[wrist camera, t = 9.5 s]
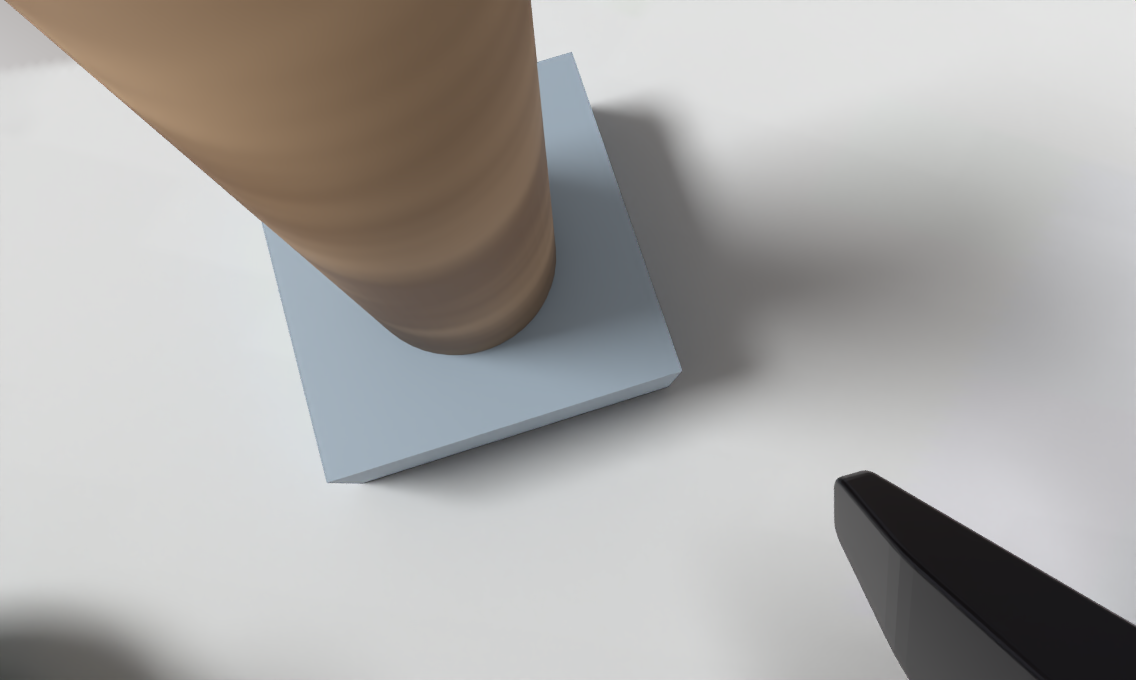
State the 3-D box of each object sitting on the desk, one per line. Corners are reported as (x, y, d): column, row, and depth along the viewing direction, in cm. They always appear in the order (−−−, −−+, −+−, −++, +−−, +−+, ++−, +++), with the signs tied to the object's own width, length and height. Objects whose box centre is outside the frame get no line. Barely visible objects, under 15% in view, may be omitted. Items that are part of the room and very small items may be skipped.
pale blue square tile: (668, 386, 22) (682, 370, 19) (361, 483, 21) (327, 483, 18) (572, 106, 23) (571, 51, 21) (286, 192, 23) (243, 148, 20)
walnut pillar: (597, 263, 19) (636, -301, 6) (445, 396, 19) (79, 127, 5) (467, 128, 20) (227, -655, 6) (319, 251, 20) (-299, -322, 6)
